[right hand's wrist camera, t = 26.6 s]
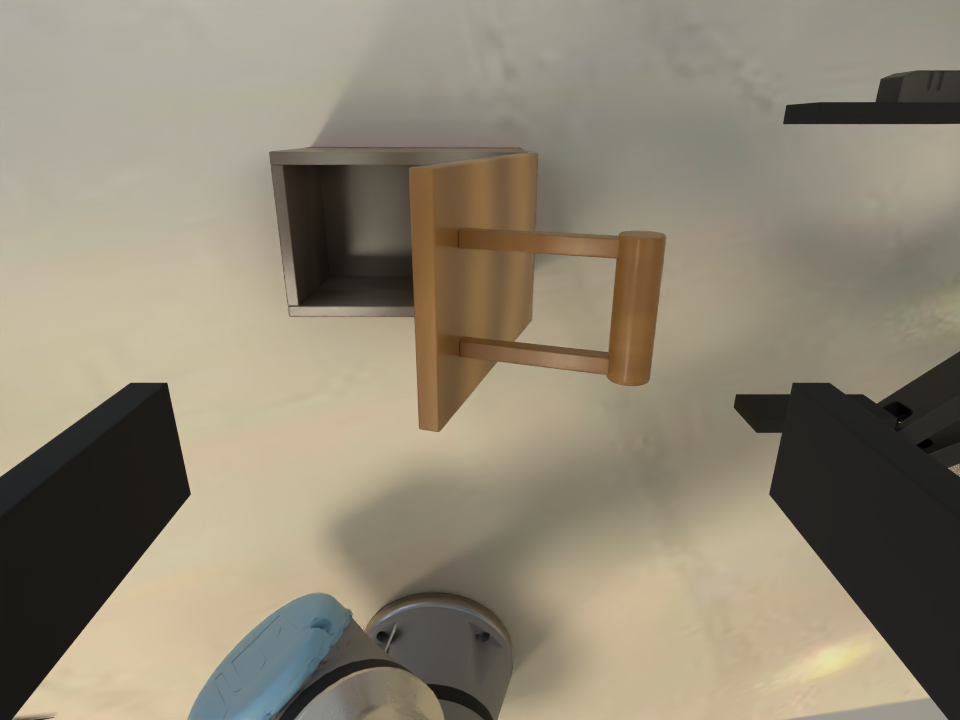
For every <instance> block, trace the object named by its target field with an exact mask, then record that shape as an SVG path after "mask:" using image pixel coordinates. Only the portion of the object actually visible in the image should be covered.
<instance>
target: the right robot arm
mask: <svg viewBox="0 0 960 720" xmlns="http://www.w3.org/2000/svg"><path fill="white" fill-rule="evenodd" d="M190 495H191V493H190V488H189V484H188V479H187V474H186V470H185V465H184V460H183V455H182V451H181V446H180V441H179V436H178V432H177V427H176V422H175V417H174V413H173V408H172V403H171V399H170V394H169V389H168V384H167V383H130V384H128V385H127V386H126V387H124V388H123V389H121V390H120V391H119V392H117V393H116V394H115V395H113V396H112V397H110V398H109V399H108V400H106V401H105V402H103V403H102V404H101V405H99V406H98V407H97V408H95V409H94V410H92V411H91V412H90V413H88V414H87V415H86V416H84V417H83V418H81V419H80V420H79V421H77V422H76V423H74V424H73V425H72V426H70V427H69V428H68V429H66V430H65V431H63V432H62V433H61V434H59V435H58V436H56V437H55V438H54V439H52V440H51V441H50V442H48V443H47V444H45V445H44V446H43V447H41V448H40V449H38V450H37V451H36V452H34V453H33V454H32V455H30V456H29V457H27V458H26V459H25V460H23V461H22V462H20V463H19V464H18V465H16V466H15V467H14V468H12V469H11V470H9V471H8V472H7V473H5V474H4V475H2V476H1V477H0V720H12V719H13V717H14V716H15V715H16V714H17V712H18V711H19V710H20V708H21V707H22V706H23V705H24V703H25V702H26V701H27V700H28V698H29V697H30V696H31V695H32V693H33V692H34V691H35V690H36V688H37V687H38V686H39V685H40V683H41V682H42V681H43V680H44V678H45V677H46V676H47V675H48V673H49V672H50V671H51V669H52V668H53V667H54V666H55V664H56V663H57V662H58V661H59V659H60V658H61V657H62V656H63V654H64V653H65V652H66V651H67V649H68V648H69V647H70V646H71V644H72V643H73V642H74V641H75V639H76V638H77V637H78V636H79V634H80V633H81V632H82V630H83V629H84V628H85V627H86V625H87V624H88V623H89V622H90V620H91V619H92V618H93V617H94V615H95V614H96V613H97V612H98V610H99V609H100V608H101V607H102V605H103V604H104V603H105V602H106V600H107V599H108V598H109V597H110V595H111V594H112V593H113V591H114V590H115V589H116V588H117V586H118V585H119V584H120V583H121V581H122V580H123V579H124V578H125V576H126V575H127V574H128V573H129V571H130V570H131V569H132V568H133V566H134V565H135V564H136V563H137V561H138V560H139V559H140V558H141V556H142V555H143V554H144V552H145V551H146V550H147V549H148V547H149V546H150V545H151V544H152V542H153V541H154V540H155V539H156V537H157V536H158V535H159V534H160V532H161V531H162V530H163V529H164V527H165V526H166V525H167V524H168V522H169V521H170V520H171V519H172V517H173V516H174V515H175V513H176V512H177V511H178V510H179V508H180V507H181V506H182V505H183V503H184V502H185V501H186V500H187V498H188V497H189V496H190ZM769 495H770V496H771V497H772V498H773V500H774V501H775V502H776V503H777V505H778V506H779V507H780V508H781V510H782V511H783V512H784V513H785V515H786V516H787V517H788V519H789V520H790V521H791V522H792V524H793V525H794V526H795V527H796V529H797V530H798V531H799V532H800V534H801V535H802V536H803V537H804V539H805V540H806V541H807V542H808V544H809V545H810V546H811V547H812V549H813V550H814V551H815V552H816V554H817V555H818V556H819V558H820V559H821V560H822V561H823V563H824V564H825V565H826V566H827V568H828V569H829V570H830V571H831V573H832V574H833V575H834V576H835V578H836V579H837V580H838V581H839V583H840V584H841V585H842V586H843V588H844V589H845V590H846V591H847V593H848V594H849V595H850V597H851V598H852V599H853V600H854V602H855V603H856V604H857V605H858V607H859V608H860V609H861V610H862V612H863V613H864V614H865V615H866V617H867V618H868V619H869V620H870V622H871V623H872V624H873V625H874V627H875V628H876V629H877V630H878V632H879V633H880V634H881V636H882V637H883V638H884V639H885V641H886V642H887V643H888V644H889V646H890V647H891V648H892V649H893V651H894V652H895V653H896V654H897V656H898V657H899V658H900V659H901V661H902V662H903V663H904V664H905V666H906V667H907V668H908V669H909V671H910V672H911V673H912V675H913V676H914V677H915V678H916V680H917V681H918V682H919V683H920V685H921V686H922V687H923V688H924V690H925V691H926V692H927V693H928V695H929V696H930V697H931V698H932V700H933V701H934V702H935V703H936V705H937V706H938V707H939V708H940V710H941V711H942V712H943V713H944V715H945V716H946V717H947V719H948V720H960V477H959V476H958V475H956V474H955V473H953V472H952V471H951V470H949V469H948V468H946V467H945V466H944V465H942V464H941V463H940V462H938V461H937V460H935V459H934V458H933V457H931V456H930V455H928V454H927V453H926V452H924V451H923V450H922V449H920V448H919V447H917V446H916V445H915V444H913V443H912V442H910V441H909V440H908V439H906V438H905V437H904V436H902V435H901V434H899V433H898V432H897V431H895V430H894V429H892V428H891V427H890V426H888V425H887V424H886V423H884V422H883V421H881V420H880V419H879V418H877V417H876V416H874V415H873V414H872V413H870V412H869V411H868V410H866V409H865V408H863V407H862V406H861V405H859V404H858V403H857V402H855V401H854V400H852V399H851V398H850V397H848V396H847V395H845V394H844V393H843V392H841V391H840V390H839V389H837V388H836V387H834V386H833V385H832V384H830V383H793V384H792V389H791V394H790V399H789V403H788V408H787V413H786V417H785V422H784V427H783V432H782V436H781V441H780V446H779V451H778V455H777V460H776V465H775V470H774V474H773V479H772V484H771V488H770V493H769Z"/></svg>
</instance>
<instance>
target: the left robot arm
mask: <svg viewBox="0 0 960 720" xmlns="http://www.w3.org/2000/svg"><path fill="white" fill-rule="evenodd" d="M783 124H960V71H911V72H904V73H896V74H892V75H890V76H887V77H885V78H882V79H881V80H880V85H879V89H878V94H877V98H876V102H819V103H806V104H794V105H786V111H785V116H784V122H783ZM845 395H847V396H848V397H850V398H851V399H852V400H854V401H855V402H857V403H858V404H859V405H861V406H862V407H863V408H865V409H866V410H868V411H869V412H870V413H872V414H873V415H874V416H876V417H877V418H879V419H880V420H881V421H883V422H884V423H886V424H887V425H888V426H890V427H891V428H892V429H894V430H895V431H897V432H898V433H899V434H901V435H902V436H904V437H905V438H906V439H908V440H909V441H910V442H912V443H913V444H915V445H916V446H917V447H919V448H920V449H922V450H923V451H924V452H926V453H927V454H928V455H930V456H931V457H933V458H934V459H935V460H937V461H938V462H940V463H941V464H942V465H944V466H945V467H946V468H949V467H952V466H954V465H957V464H960V351H959V352H958V353H956V354H955V355H953V356H952V357H950V358H948V359H947V360H945V361H944V362H942V363H941V364H939V365H937V366H936V367H934V368H933V369H931V370H929V371H928V372H926V373H925V374H923V375H922V376H920V377H918V378H917V379H915V380H914V381H912V382H911V383H909V384H907V385H906V386H904V387H903V388H901V389H900V390H898V391H896V392H895V393H893V394H892V395H890V396H888V397H887V398H885V399H884V400H882V401H881V402H879V403H877V404H876V403H875V402H873V401H872V400H870V399H869V398H867V397H866V396H864V395H863V394H845ZM789 399H790V394H736V397H735V403H734V408H735V410H736V411H737V412H738V413H739V414H740V415H741V416H742V417H743V418H744V419H745V420H746V422H747V423H748V424H749V425H750V426H751V427H752V428H753V429H754V430H755V431H756V432H757V433H782V432H783V427H784V422H785V417H786V413H787V408H788V403H789ZM899 422H901V423H899ZM352 614H353V613H352V612H351V610H350V609H347V608H344V607H343V606H342V605H341V604H340V603H339V602H338V601H337V600H336V599H335V598H334V597H332V596H331V595H328V594H325V593H313V594H308V595H305V596H302V597H300V598H297V599H295V600H293V601H292V602H290V603H288V604H287V605H285V606H283V607H281V608H280V609H278V610H277V611H275V612H274V613H273V614H271V615H270V616H269V617H267V618H266V619H265V620H264V621H263V622H261V623H260V624H259V625H258V626H257V627H255V628H254V629H253V630H252V631H251V632H250V633H249V634H248V635H247V636H246V637H245V638H243V639H242V640H241V641H240V642H239V644H238V645H237V646H236V647H235V648H234V649H233V650H232V651H231V652H230V653H229V654H228V655H227V657H226V658H225V659H224V660H223V661H222V662H221V664H220V665H219V666H218V667H217V669H216V670H215V671H214V672H213V674H212V675H211V677H210V678H209V680H208V681H207V683H206V685H205V686H204V687H203V689H202V690H201V692H200V693H199V695H198V697H197V699H196V701H195V703H194V704H193V707H192V709H191V711H190V714H189V717H188V720H497V719H498V716H499V713H500V710H501V707H502V704H503V700H504V697H505V694H506V691H507V688H508V685H509V681H510V678H511V674H512V649H511V642H510V638H509V635H508V633H507V631H506V629H505V627H504V626H503V624H502V623H501V622H500V620H499V619H498V618H497V617H496V616H495V615H494V614H493V613H492V612H490V611H489V610H488V609H486V608H485V607H483V606H482V605H480V604H478V603H476V602H474V601H472V600H469V599H466V598H463V597H460V596H456V595H451V594H443V593H425V594H418V595H413V596H409V597H405V598H402V599H400V600H397V601H395V602H393V603H391V604H389V605H388V606H386V607H384V608H383V609H382V610H380V611H379V612H378V613H377V614H376V615H375V616H374V617H373V618H372V619H371V621H370V622H369V623H368V625H367V627H366V629H365V631H363V630H362V629H361V627H360V626H359V625H358V624H357V623H356V622H355V620H354V619H353V618H352Z"/></svg>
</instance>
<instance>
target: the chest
mask: <svg viewBox="0 0 960 720" xmlns="http://www.w3.org/2000/svg"><path fill="white" fill-rule="evenodd" d="M517 153H529V152H527V151H525V150H523V149H521V148H389V147H309V148H301V149H291V150H281V151H272V152H269V155H270V163H271V171H272V179H273V187H274V196H275V204H276V212H277V220H278V229H279V237H280V245H281V253H282V262H283V270H284V278H285V286H286V295H287V303H288V310H289V316H290V317H415V313H414V289H413V264H412V239H411V214H410V189H409V168H411V167H419V166H426V165H434V164H441V163H449V162H457V161H464V160H472V159H479V158H487V157H494V156H502V155H509V154H517Z"/></svg>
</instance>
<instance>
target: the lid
mask: <svg viewBox="0 0 960 720" xmlns="http://www.w3.org/2000/svg"><path fill="white" fill-rule="evenodd" d="M537 168H538V153H517V154H509V155H502V156H494V157H487V158H479V159H472V160H464V161H457V162H449V163H441V164H434V165H426V166H419V167H411V168H409V189H410V214H411V239H412V264H413V289H414V313H415V338H416V363H417V388H418V413H419V428H420V429H423V430H429V431H435V432H440V431H441V429H442V428H443V427H444V426H445V425H446V423H447V422H448V421H449V420H450V419H451V417H452V416H453V415H454V414H455V413H456V411H457V410H458V409H459V408H460V407H461V405H462V404H463V403H464V402H465V400H466V399H467V398H468V397H469V396H470V394H471V393H472V392H473V391H474V390H475V388H476V387H477V386H478V385H479V384H480V382H481V381H482V380H483V379H484V377H485V376H486V375H487V374H488V373H489V371H490V370H491V369H492V368H493V367H494V365H495V364H496V363H497V362H507V363H515V364H523V365H531V366H539V367H548V368H556V369H564V370H572V371H580V372H588V373H597V374H605V375H607V378H608V379H609V380H610V381H612V382H614V383H617V384H620V385H626V386H639V385H644V384H646V383H648V381H649V380H650V371H651V363H652V354H653V346H654V337H655V329H656V320H657V312H658V303H659V294H660V286H661V277H662V269H663V260H664V252H665V243H666V235H664V234H662V233H658V232H651V231H625V232H621V233H619V236H611V235H592V234H573V233H555V232H536V231H535V223H536V195H537ZM534 253H542V254H557V255H573V256H588V257H604V258H617V260H616V272H615V283H614V295H613V306H612V318H611V329H610V340H609V352H601V351H592V350H583V349H573V348H564V347H555V346H546V345H537V344H528V343H519V342H514V341H515V340H516V339H517V338H518V336H519V335H520V334H521V333H522V332H523V330H524V329H525V328H526V327H527V325H528V324H529V323H530V322H531V321H532V306H533V279H534Z"/></svg>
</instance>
